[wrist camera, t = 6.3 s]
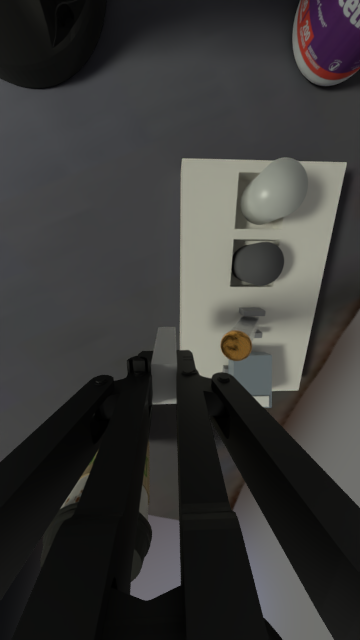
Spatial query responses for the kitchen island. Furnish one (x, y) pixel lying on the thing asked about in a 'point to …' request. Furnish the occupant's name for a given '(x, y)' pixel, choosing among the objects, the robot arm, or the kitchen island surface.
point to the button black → (258, 263)
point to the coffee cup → (143, 525)
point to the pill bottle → (327, 40)
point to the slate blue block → (255, 376)
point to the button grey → (275, 192)
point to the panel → (241, 297)
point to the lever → (240, 339)
